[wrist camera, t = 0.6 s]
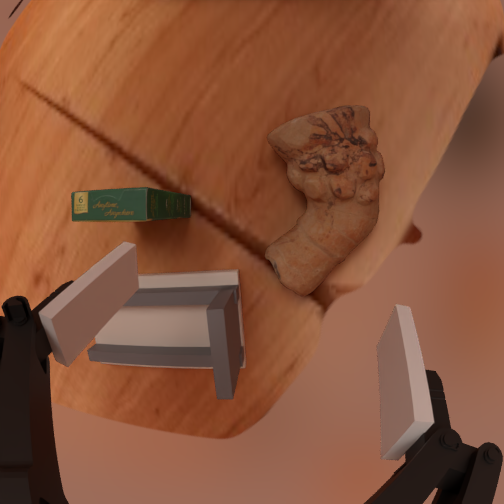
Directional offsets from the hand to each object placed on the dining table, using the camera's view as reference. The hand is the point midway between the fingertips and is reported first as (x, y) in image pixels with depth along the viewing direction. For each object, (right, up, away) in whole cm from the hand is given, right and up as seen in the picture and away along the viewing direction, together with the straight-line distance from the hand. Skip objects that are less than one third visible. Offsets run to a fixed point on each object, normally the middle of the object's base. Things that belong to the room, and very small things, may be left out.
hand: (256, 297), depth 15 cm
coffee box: (-11, +8, +22) cm, 26 cm away
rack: (-11, -6, +24) cm, 27 cm away
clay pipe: (+7, +9, +21) cm, 24 cm away
